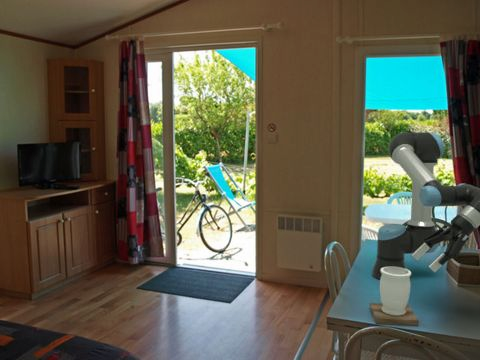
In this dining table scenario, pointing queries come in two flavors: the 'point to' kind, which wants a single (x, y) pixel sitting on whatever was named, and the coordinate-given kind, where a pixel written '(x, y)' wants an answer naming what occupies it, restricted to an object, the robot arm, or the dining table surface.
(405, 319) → the walnut stand
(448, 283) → the dining table surface
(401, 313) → the jar
